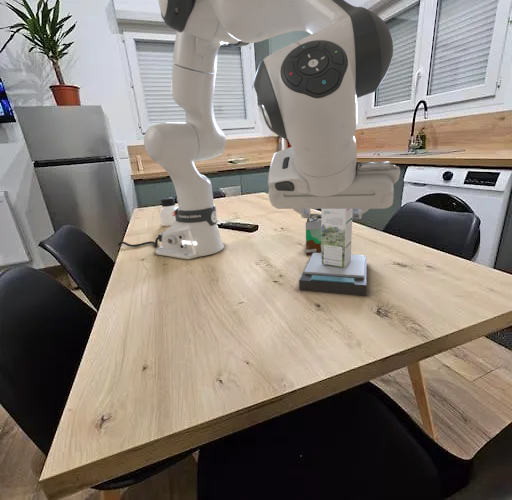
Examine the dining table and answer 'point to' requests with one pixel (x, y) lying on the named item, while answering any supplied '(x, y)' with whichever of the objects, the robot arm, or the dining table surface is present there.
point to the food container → (313, 234)
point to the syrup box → (336, 236)
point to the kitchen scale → (335, 276)
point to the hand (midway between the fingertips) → (331, 215)
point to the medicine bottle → (168, 211)
